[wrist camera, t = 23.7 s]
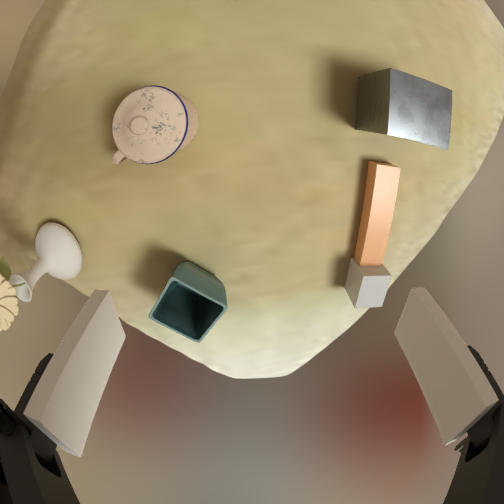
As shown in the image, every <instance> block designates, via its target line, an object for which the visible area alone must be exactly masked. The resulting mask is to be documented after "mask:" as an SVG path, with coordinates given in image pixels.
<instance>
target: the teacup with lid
mask: <svg viewBox="0 0 504 504" xmlns="http://www.w3.org/2000/svg"><path fill="white" fill-rule="evenodd" d="M198 124H199V118H198V113H197V110H196V108H195V106H194V105H193V103H192V102H191V101H190V100H189V99H187V98H186V97H184V96H182V95H179V94H176V93H174V92H173V91H171V90H170V89H167V88H165V87H161V86H146V87H142V88H139V89H137V90H135V91H133V92H132V93H130V94H129V95H128V96H127V97H125V99H124V100H123V101H122V102H121V103H120V105H119V106H118V108H117V110H116V112H115V115H114V118H113V123H112V133H113V138H114V141H115V144H116V146H117V147H118V150H117V151H116V152H115V153H114V155H113V156H112V161H113V162H114V163H115V164H120V163H122V162H124V161H125V160H127V159H130V160H132V161H134V162H137V163H141V164H154V163H158V162H161V161H163V160H166V159H167V158H169V157H170V156H172V155H173V154H174V153H175V152H177V151H179V150H181V149H183V148H185V147H186V146H187V145H188V144H189V143H190V142H191V141H192V140H193V138H194V137H195V135H196V133H197V130H198Z"/></svg>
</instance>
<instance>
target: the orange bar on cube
mask: <svg viewBox="0 0 504 504" xmlns="http://www.w3.org/2000/svg"><path fill="white" fill-rule="evenodd" d="M400 169H401V168H400V167H397V166H395V165H392V164H387V163H381V162H374V161H369V163H368V172H367V180H366V188H365V195H364V202H363V208H362V215H361V221H360V227H359V232H358V238H357V243H356V248H355V253H354V257H351V260H350V264H349V269H348V274H347V278H346V283H345V289H346V291H347V293H348V295H349V297H350V299H351V301H352V303H353V305H354V308H368V307H381V306H382V304H383V301H384V298H385V295H386V292H387V289H388V285H389V282H390V279H391V274H390V273H389V272H388V270H387V269H386V268H385V267H384V265H383V264H382V262H383V258H384V254H385V249H386V245H387V241H388V236H389V232H390V227H391V222H392V217H393V212H394V207H395V201H396V195H397V189H398V183H399V176H400Z"/></svg>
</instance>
